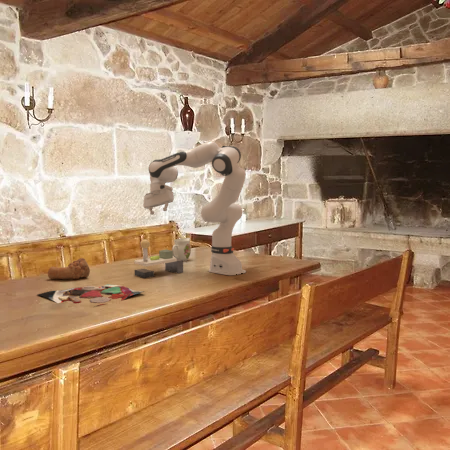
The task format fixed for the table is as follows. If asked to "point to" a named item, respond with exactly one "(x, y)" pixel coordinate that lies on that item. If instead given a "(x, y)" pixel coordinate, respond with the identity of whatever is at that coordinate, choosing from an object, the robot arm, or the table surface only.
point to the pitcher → (182, 249)
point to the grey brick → (171, 266)
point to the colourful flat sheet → (91, 294)
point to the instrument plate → (154, 262)
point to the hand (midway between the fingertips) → (158, 212)
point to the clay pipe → (70, 270)
